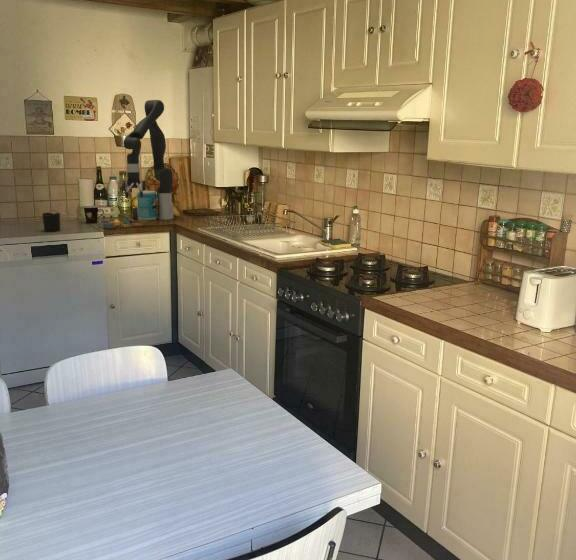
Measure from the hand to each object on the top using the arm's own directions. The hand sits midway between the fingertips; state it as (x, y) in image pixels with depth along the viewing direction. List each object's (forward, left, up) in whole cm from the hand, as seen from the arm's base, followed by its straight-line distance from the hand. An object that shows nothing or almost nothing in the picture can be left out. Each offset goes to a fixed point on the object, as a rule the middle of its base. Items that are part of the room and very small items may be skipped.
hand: (134, 197), depth 381 cm
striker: (+1, 0, -16) cm, 16 cm away
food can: (-15, -17, -17) cm, 28 cm away
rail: (+3, 0, -17) cm, 17 cm away
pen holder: (+49, -4, -17) cm, 52 cm away
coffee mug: (+20, -19, -17) cm, 32 cm away
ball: (+12, 0, -15) cm, 19 cm away
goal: (+19, 0, -17) cm, 25 cm away
